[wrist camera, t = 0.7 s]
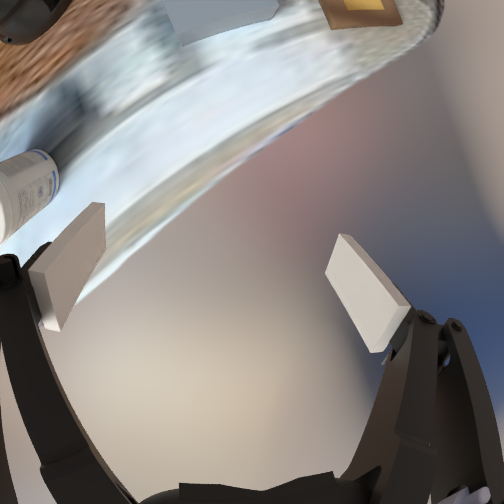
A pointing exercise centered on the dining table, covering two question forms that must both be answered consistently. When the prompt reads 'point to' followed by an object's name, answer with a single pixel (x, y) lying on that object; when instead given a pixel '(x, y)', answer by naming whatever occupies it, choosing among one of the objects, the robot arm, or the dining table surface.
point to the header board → (360, 13)
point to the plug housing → (215, 16)
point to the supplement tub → (25, 189)
